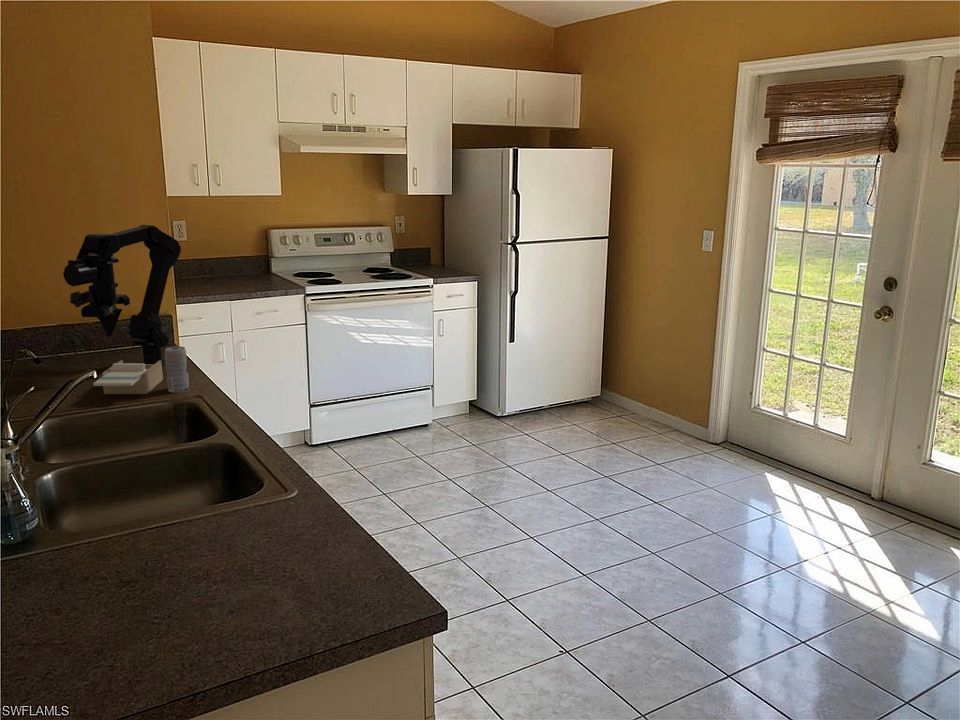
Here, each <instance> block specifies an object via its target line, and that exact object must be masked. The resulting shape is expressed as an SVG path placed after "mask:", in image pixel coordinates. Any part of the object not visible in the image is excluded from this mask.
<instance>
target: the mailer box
mask: <svg viewBox="0 0 960 720" xmlns="http://www.w3.org/2000/svg"><path fill="white" fill-rule="evenodd" d="M123 361H124V360H123V359H122V360H121V359H120V360H119V361H118V362H117V363H124V362H123ZM162 367H163V366H162V364H161V360H159V361H158V362H157V363H155V364H145V369H148V370H146V371H145V372H144V373H143V377H142V378H141V379H139V380H138V381H137V382H136V383H134V384H133V385H132V386H102V388H103V394H104V395H147V394H148V393H150V392H151V391H152V390H154V388H155V387H156V386H157V385H159V384H160V383H161V382H162V381H164V376H163V368H162ZM111 370H113V365H112V366H110V367H109V368H108V369H106V370H104V371H103V372H101V377H103V376H104V375H106V374H107V373H108V372H110V371H111Z"/></svg>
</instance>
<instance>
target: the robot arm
mask: <svg viewBox="0 0 960 720" xmlns="http://www.w3.org/2000/svg"><path fill="white" fill-rule="evenodd" d="M142 242H143V245H144V247H146V248H147V249H148V250H149V253H148V256H149V260H150V262H151V268H150V271H149V272H150V273H149V276H148V279H147V283H146V288H145V292H144V297H143V300H142V301H143V302H142V305H141V309H140V311H139V312H138V313H137V314H132V315H131V317H130V322H129V325H128V326H127V328H128V329H129V330H128V334H129V336H130V338H131V340H132V342H133V345H134V346H140V348H141V358H142V359H141V360H142V363H145V364H155V363H157V362H158V361H159V360H161V364H162V367H163V366H164V365H166V362H165V359H164V357H163V356H164V355H163V348H164V347H166V346H167V345H168V344H169V339H170V338H169V337H168V335H166V333H164V332H163V331H162V326H163V324H162V321H161V318H160V316H159V314H160V310H161V306H162V301H163V299H164V298H163V297H164V293H165V290H166V286H167V280H168V279H169V278H168V277H169V273H170V269H171V268H172V267H173V266H174V265H175V264H176V263H177V261H178V259H179V256H180V254H181V251H182V247H181V245H180V243H179V241H178V240H177V239H176V238H173V237H172V236H171V235H169V234H167V233H165V232H163V231H162V230H161V229H159V228H158V227H157V226H155V225H153V224H152V225H151V224H141V225H139V226H135V227H133V228H128V229H125V230H121V231H116V232H113V233H91V234H90V233H89V234H87V235H85V237H84V239H83V242H82V245H81V246H80V249H79V251H78V253H77V256H76V258H75V259H68V261H67V265H65V267H64V269H63V273H62V274H63V275H62V276H63V279H64V280H65V282H66V284H68V285H69V286H70V287H78V286H83V285H87V284H89V286H88V290H86V291H84V292H80V291H79V290H78V291H75V292H72V293H70V297H69V299H70V300H69V303H70V304H71V305H74V306H75V308H76V309H77V308H79V307H81V306H83V307H82V308H80V317H81V318H96V319H98V320H99V322H100V324H101V326H102V328H103V330H104V333H105V334H106V336H107V337H111V336H113V334H114V331H115V329H116V325H117V323H118V320H119V318H120V316H121V312H122V311H123V308H118V307H117V306H116V305H124V306H126V307H127V306H128V305H130V304H131V302H130V301H131V299H130V296H128V295H127V294H119V293H118V294H117V290H116V288H117V287H119V283H118V282H116V280H115V271H114V264H115V263H116V264H117V263H119V262H120V259H118V258H117V257H115V256H114V255H115V254H117V253H118V252H119V251H120V250H121V249H122V248H124V247H127V246H128V247H129V246H132V245H135V244H139V243H142ZM88 303H89V304H88ZM86 304H87V305H86Z"/></svg>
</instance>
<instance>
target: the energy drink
mask: <svg viewBox="0 0 960 720" xmlns="http://www.w3.org/2000/svg"><path fill="white" fill-rule="evenodd" d="M164 360H165V362H166V363H165V369H166V370H165V371H166V379H167V382H166V383H167V390H168V392H170V393H172V394H173V393H177V394H179V393H184V392H188V391H189V390H190V379H189V371H188V359H187V350H186V348H185V346H169V347H166V348H165V350H164Z"/></svg>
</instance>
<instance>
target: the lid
mask: <svg viewBox="0 0 960 720" xmlns="http://www.w3.org/2000/svg"><path fill="white" fill-rule="evenodd" d="M112 366H113V370H111V371H110V372H108V373H107V374H106V375H104V376H103V377H102V376H100V377H99V378H98V379H97V380H96V381H94V382H93V383H92V384H93V385H92V386H93V387H103V386H132V385H133V384H134V383H136V382H137V381H138V380H139V379H141V378H142V377H143V373H144V372H145V371H146V370H148V369H145V363H143V362H141V363H139V362H138V363H133V362H132V363H131V362H130V363H124V362H123V363H118V362H116V363H115V362H114V363H112Z"/></svg>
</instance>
